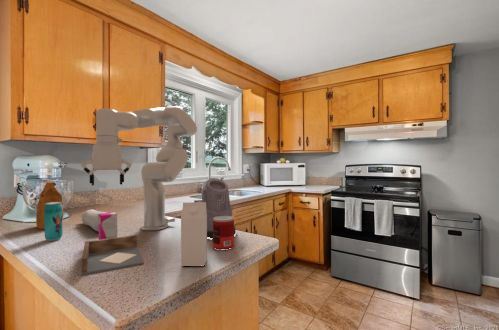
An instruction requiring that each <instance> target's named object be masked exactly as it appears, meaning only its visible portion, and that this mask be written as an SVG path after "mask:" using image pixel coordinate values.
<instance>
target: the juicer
mask: <svg viewBox="0 0 499 330" xmlns="http://www.w3.org/2000/svg"><path fill="white" fill-rule="evenodd" d="M193 201H194V202H206V209H207V237H210V238H213V218H214V217H217V216H232V217H233V207H232V204H231V202H230V201H231V199H230V192H229V187H228V184H227V183H226V182H225V181H224V180H222V179H220V178H215V177H212V178H209V179H207V181H206V184H205V185H204V186H203V187H202V189H201V199H197V200H196V199H195V200H193ZM235 233H236V226H235V225H234V234H235Z"/></svg>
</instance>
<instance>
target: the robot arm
mask: <svg viewBox="0 0 499 330" xmlns="http://www.w3.org/2000/svg"><path fill="white" fill-rule="evenodd" d="M95 113H96V114H95V116H96V118H95V120H96V121H95V124H96V126H95V128H96V129H95V131H96V132H95V133H96V134H95V135H96V136H95V138H96V139H95V140H96V141H95V143H94V144H93V147H92V153H91V155H92V156H91V157H92V158H91V159H88V160H86V161H84V162H82V163H80V166H81V167H82V169H83V171H84V172H86V173H87V174H88V175H89V184H91V186H95V174H94V173H95V172H96V171H115V170H117V171H118V172H119V173H120V174H119V185H123V183H125V174H126V173H127V172H128V171H130V169H131V167H132V165H133V164H132V162H129V161H127V160H125V159H123V157H122V148H121V145H120V144H119V143H122V142H123V138H119V132H121V131H122V132H123V131H124V132H125V131H133V130H135V129H144V128H146V129H147V128H153V127H158V126H164V125H167V126H166V133H167V142H166V143H165V144H164V146H162V148H161V149H160V150H159V151H158V153H157V155H156V157H155V161H150V162H146V163H145V164H144V165H143V166H142V167H141V170H140V171H141V173H140V174H141V179H142V183H143V184H142V185H143V223H142V224H141V225H140V227H139V228H140V230H143V231H159V230H163V229H166V228H168V227H169V223H174V222H176V218H175V217H166V216H165V215H166V211H165V210H166V203H165V202H166V198H165V197H166V194H165V193H166V192H165V191H166V190H165V187H164V184H163V183H172V182H174V181H175V180H176V179H177V178H178V177H179V175H180V173H181V172H182V171H183V169H184V168H185V166H187V163H188V157H189V156H188V152H187V151H186V149H184V147H183V146H184V145H183V143H182V141H181V137H191V136H195V135H196V133H197V131H198V130H197V129H198V127H197V124H196V121H194V119H193V118H192V117H191V116H190V115H189V114H188V113H187V112H186V111H185V109H183V108H182V107H180V106H177V105H176V106H175V105H173V106H164V107H163V106H162V107H161V106H160V107H152V108H143V109H137V110H132V111H118V110H115V109H112V108H98V109H97V110H96V111H95ZM89 164H92V165H91V166H92V169H91V170H90V169H89V168H88V165H89ZM123 164H124V165H126V167H125V168H124V169H122V166H123Z"/></svg>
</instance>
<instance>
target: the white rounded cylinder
mask: <svg viewBox="0 0 499 330" xmlns="http://www.w3.org/2000/svg"><path fill="white" fill-rule="evenodd" d="M108 212H109V211H98V210H96V209H93V208H92V209H87V210H85V211H84V212H83V213H81V221H82V224H84V225H86V226H89V227H90V228H92V229H93V231H96V232H97V233H99V225H98V214H100V213H108Z"/></svg>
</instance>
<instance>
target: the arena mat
mask: <svg viewBox="0 0 499 330" xmlns="http://www.w3.org/2000/svg"><path fill="white" fill-rule="evenodd" d="M140 264H141V265H144V260H143V258H142V255H141V254H140V251H139V248H138V246H137V247H131V248H124V249H118V250H111V251H105V252H98V253H91V254H89V259H88V267H87V272H86V273H82V272H81V276H88V275H91V274H97V273H101V272H102V273H103V272H108V271H115V270H119V269H125V268H130V267H134V266H140Z"/></svg>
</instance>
